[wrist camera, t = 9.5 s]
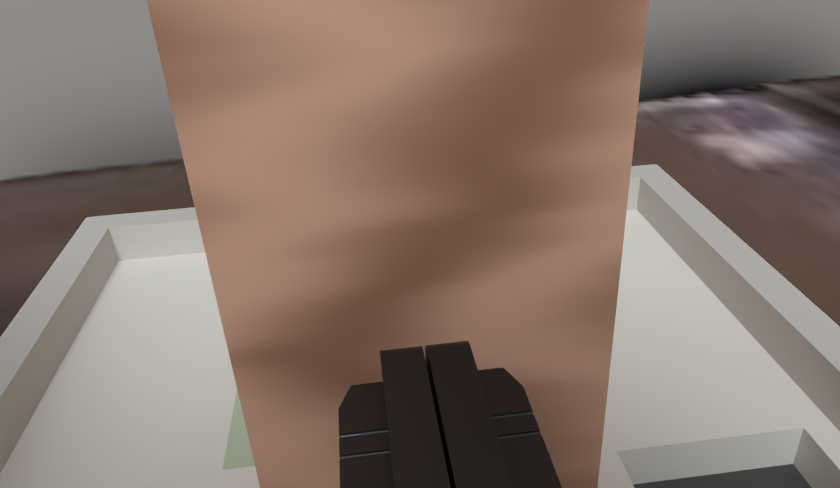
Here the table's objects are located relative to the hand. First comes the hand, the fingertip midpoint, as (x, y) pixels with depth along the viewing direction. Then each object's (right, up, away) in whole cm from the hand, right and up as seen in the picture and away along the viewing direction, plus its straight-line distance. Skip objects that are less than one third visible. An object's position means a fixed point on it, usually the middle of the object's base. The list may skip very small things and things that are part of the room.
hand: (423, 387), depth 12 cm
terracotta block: (0, -1, +9) cm, 9 cm away
